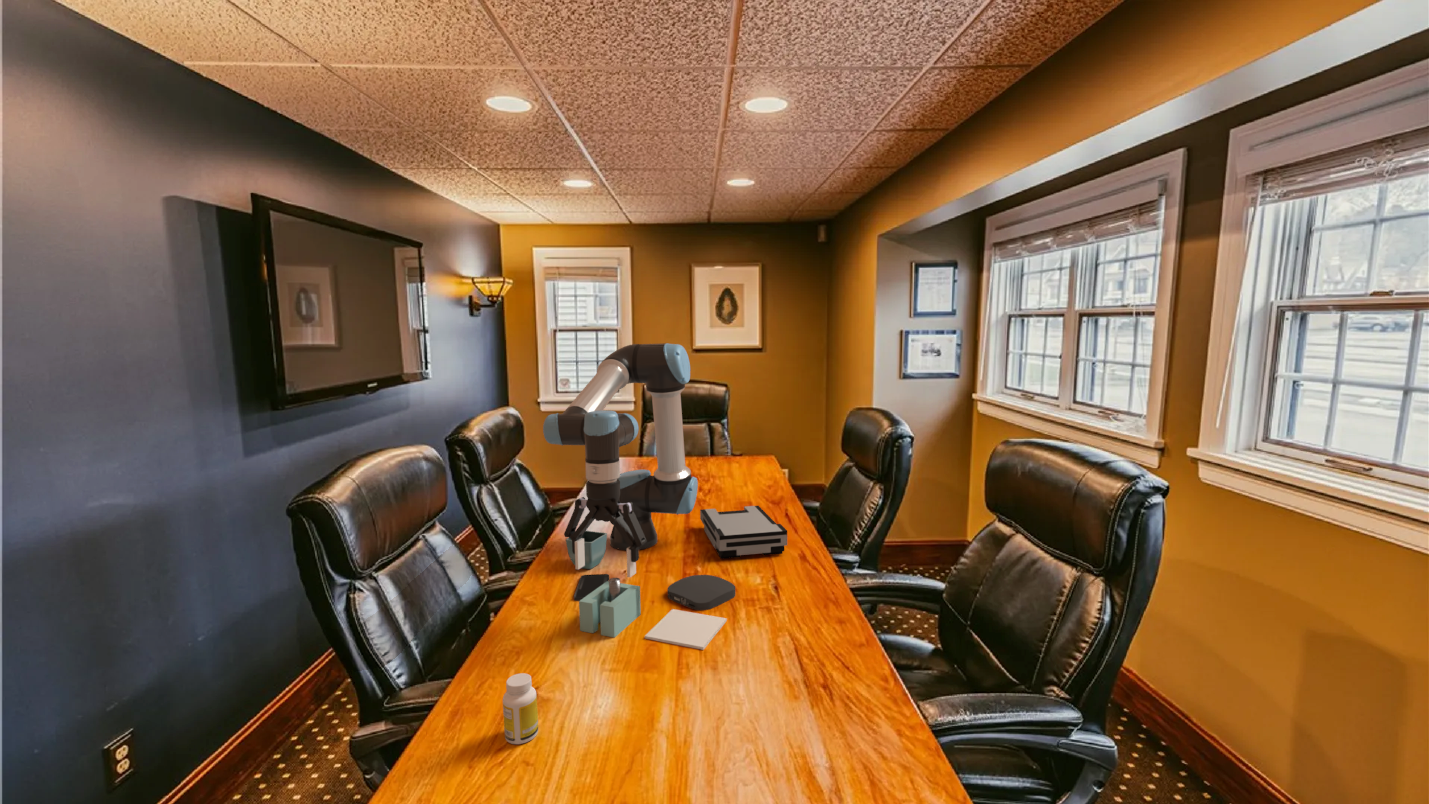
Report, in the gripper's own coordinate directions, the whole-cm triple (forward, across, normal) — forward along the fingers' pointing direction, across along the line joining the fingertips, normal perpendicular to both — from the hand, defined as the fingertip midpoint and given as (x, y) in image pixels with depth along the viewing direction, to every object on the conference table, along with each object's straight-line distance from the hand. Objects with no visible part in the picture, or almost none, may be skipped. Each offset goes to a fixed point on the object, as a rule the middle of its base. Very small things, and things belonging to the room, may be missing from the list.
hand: (605, 571), depth 138 cm
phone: (+13, -15, +17) cm, 26 cm away
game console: (+13, +10, +65) cm, 67 cm away
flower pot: (+13, -25, +30) cm, 41 cm away
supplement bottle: (+14, +7, -38) cm, 41 cm away
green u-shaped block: (+13, 0, +2) cm, 13 cm away
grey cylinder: (+13, 0, +4) cm, 14 cm away
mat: (+13, +18, +5) cm, 23 cm away
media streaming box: (+13, +14, +23) cm, 30 cm away
